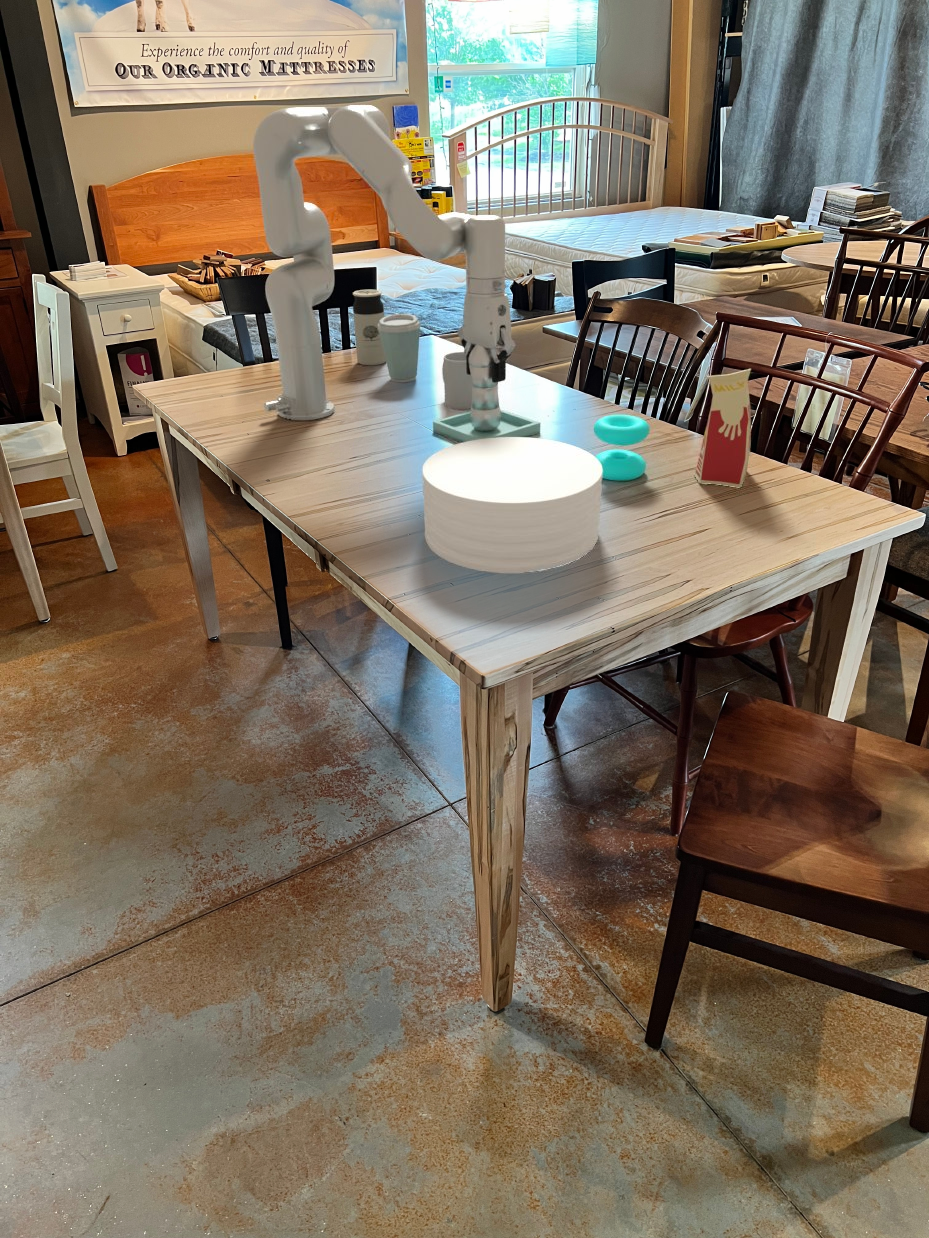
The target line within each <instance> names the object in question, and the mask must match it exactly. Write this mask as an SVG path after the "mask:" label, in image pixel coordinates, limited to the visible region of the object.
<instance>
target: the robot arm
mask: <svg viewBox="0 0 929 1238" xmlns="http://www.w3.org/2000/svg"><path fill="white" fill-rule="evenodd" d="M390 138H391V127H390V124H389V121H388V119H387V117H386V116H385V114H384V113H383V112H382V111H381V109H378V107H375V106H374V105H370V104H367V105H366V104H360V105H359V104H357V105H356V104H355V105H353V104H350V105H345V106H316V107H315V106H309V107H303V106H302V107H300V106H299V107H286V108H281V109H278V110H275V111H273V112H271V113H270V114H268V115H266V117H264V118H263V119H262V121H260V123H259V125H258V126H257V129H256V130H255V133H254V137H253V144H252V145H253V147H252V149H253V151H252V152H253V159H254V165H255V168H256V175H257V179H258V186H259V198H260V204H261V214H262V221H263V229H264V235H265V237H264V238H265V241H266V243H267V246H268V248H269V249H270V251H271V252H272V253H273V254H275V255H276V256H278V257H281V258H282V257H283V258H290V257H293V261H290V262H288V263H285V264H281V265H279V266H277V267H275V268H274V269H273V270H272V271H270V273H269V275H268V277H267V279H266V281H265V286H264V287H265V289H264V290H265V299H266V301H267V304H268V307H269V310H270V314H271V317H272V322H273V329H274V336H275V342H276V347H277V348H276V349H277V356H278V357H277V358H278V364H279V373H280V380H281V388H282V389H281V390H282V393H279V394H278V398H276V400H275V401H274V400H273V401H267V402H265V403H264V404H263V406H264V407H263V408H264V410H265V412H267V413H269V412H272V411H276V412H277V413H278V416H280V417H281V418H282V417H284V418H283V419H285V418H287V419H286V420H289V419H291V421H313V420H319V419H323V418H326V417H328V416H331V415H332V414H333V413H334V412H335V411H336V410H335V404H334V403H333V402H331V401H329V400H328V399H327V390H326V380H325V369H324V360H323V352H322V351H323V350H322V342H321V332H320V327H319V323H318V321H317V318H316V315H315V313H314V310H313V307H314V306H316V305H319V304H321V303H322V302H325V301H327V299H329V298H330V296H332V293H333V291H334V287H335V269H334V267H335V266H334V256H333V244H332V236H331V228H330V224H329V222H328V219H327V217H326V215H325V213H324V212H323V211H322V210H321V209H320V208H319V207H318V206H317V205H315V204H313V203H311V202H305V201H304V200H305V199H304V193H303V192H304V191H303V188H304V187H303V183H302V182H303V181H302V178H301V175H300V172H299V170H298V168H297V166H296V163H295V161H297V160H299V159H302V158H313V157H320V156H322V157H323V156H324V157H325V156H340V157H342V158H343V159H344V160H345V161H346V162H347V163H348V164H349V165H350V166H351V168H353V170H354V171H356V172H357V174H358V175H359V176H361V178H362V179H363V180H364V181H365V183H367V184H368V186H369V187H370V188H371V189H373V191H374V192H375V193H376V194H377V195H378V197H380V200H381V203H382V205H383V208H384V210H385V212H386V215H387V216H388V217H389V220H390V221H391V223H392V225H393V226H394V228H395V229H396V231H397V232H398V233H399V234H400V235H401V236H402V237H403V238H404V239H405V240H406V242H408V243H409V245H410V246H412V247H413V249H415V251H416V252H418V253H419V254H420V255H421V256H423V257H424V258H425V259H428V260H429V261H435V262H439V261H443V260H447V259H448V258H451V257H454V256H457V255H460V254H465V283H466V284H465V288H466V289H465V292H464V293H465V295H464V299H463V300H464V301H463V309H462V310H463V312H462V325H461V327H460V328H459V329H458V330H457V335H458V337H459V339H460V343H461V345H462V348H464V349H463V352H464V353H465V354H466V371H467V374H468V375H471V373H470V367H469V355H470V353H471V351H472V350H473V348H474V347H475V345H479V346H482V347H485V348H489V349H491V352H492V356H493V359H494V362H492V382H494V383H496V382H498V383H501V382H504V381H506V376H507V375H506V374H507V373H506V371H507V370H506V369H507V363H506V362H507V361H508V360H509V357H510V356H511V355H512V352H513V351H514V349H515V348H516V343H515V341H514V339H512V321H511V319H512V317H511V308H510V301H509V296H508V294H507V293H506V289H507V286H506V285H507V284H506V222H505V220H504V218H503V217H501V216H498V215H492V214H480V215H479V214H478V215H471V214H465V213H461V212H455V211H454V212H446V213H443V214H438V215H437V214H436V213H435V212H434V211H433V209H431V208H430V206H429V205H428V204H427V203H426V202H425V201H424V200H423V198H421V196H420V194H419V193H418V192H417V190H416V188H415V186H414V183H413V179H412V174H413V173H412V172H413V164H412V161H411V160H410V159H409V158H408V156H407V155H406V154H405V153H404V152H403V151H402V150H401V149H400V148H399V147H398V146H397V145H396V144H395V143H394V142H393V141H392V140H391V139H390ZM476 342H477V343H476ZM498 350H499V351H498ZM497 351H498V352H497ZM498 353H499V355H498Z"/></svg>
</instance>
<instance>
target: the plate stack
mask: <svg viewBox="0 0 929 1238" xmlns="http://www.w3.org/2000/svg"><path fill="white" fill-rule="evenodd" d="M421 470H422V471H421V477H422V481H423V483H422V493H423V512H424V514H423V517H424V520H423V522H424V538H425V541H426V544H427V546H428V547H429V549H430V550H431V551H432V552H433V553H435V555H437V556H439V557H440V558H441V559H443V560H445V561H447V562H449V563H451V564H454V565H456V566H460V567H462V568H467V569H470V570H475V571H479V572H485V571H486V572H487V573H495V574H496V573H497V574H525V573H524V572H530V571H538V570H541V569H548V568H553V567H557V566H560V565H564V564H566V563H569V562H571V561H574V560H576V559H578V558H580V557H582V556H584V555H585V554H586V553H588V552H589V551H590V550H591V549H592V548H593V547H594V546H595V544H596V542H597V543H598V541H597V540H599V532H600V530H599V529H600V528H599V527H600V520H601V519H600V517H601V516H600V515H601V514H600V512H601V506H602V505H601V502H602V501H601V496H602V490H603V489H602V488H603V487H602V486H603V485H602V482H603V478H602V476H603V468H602V465H601V463H600V462H599V460H598V459H597V458H596V455H593V454H592V453H590V452H589V451H588V450H585V449H582V448H581V447H578V446H575V445H572V444H569V443H565V442H562V441H558V440H557V441H556V440H551V439H544V438H537V437H497V438H486V439H478V440H472V441H467V442H463V443H461V442H458V443H456V444H453V445H449V446H447V447H445V448H444V447H443V449H440V450H437V451H436V452H435V453H433V454H432V455H430V456H429V457H428V458H427V459H426V460H425V462H424V463H423V465H422V469H421ZM596 545H597V544H596ZM595 547H596V546H595ZM595 547H594V548H595ZM584 557H585V556H584ZM486 572H485V573H486Z"/></svg>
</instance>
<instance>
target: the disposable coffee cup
mask: <svg viewBox="0 0 929 1238" xmlns="http://www.w3.org/2000/svg"><path fill="white" fill-rule="evenodd" d="M421 327H422V326H421V322H420V321H419V319H418V317H417V315H413V314H410V313H397V314H389V315H386V316H384V317H383V318H382V319H381V320H380V321H379V324H378V328H377V329H378V330H379V333H380V337H381V341H382V346H383V350H384V354H385V358H386V362H385V363H386V366H387V369H388V375H389V378H390V379H391V382H395V383H410V382H412V381H415V380H416V379H417V376H418V364H419V363H418V362H419V350H420V349H419V347H420V333H421V332H420V331H421Z"/></svg>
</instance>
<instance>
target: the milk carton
mask: <svg viewBox="0 0 929 1238" xmlns="http://www.w3.org/2000/svg"><path fill="white" fill-rule="evenodd" d="M751 371H752V368H748V369H744V370H740V371H737V372H732V373H728V374H715V375H707V376H706V378H707V379H708V380H709V383H710V388H711V393H712V399H711V403H710V404H711V406H710V410H709V414H708V419H707V423H706V427H705V431H704V436H703V437H702V444H701V447H700V451H699V455H698V460H697V463H696V468H695V472H694V475H695V476H694V477H696V479H695V480H696V481H697V480H698V481H697V482H698V484H699V483H711V484H721V485H728V486H735V487H742V488H743V485H744V483H745V479H746V476H747V473H748V466H749V465H748V464H749V458H750V453H751V446H752V445H751V441H752V440H751V439H752V438H751V435H752V433H751V432H752V427H751V426H752V419H751V418H752V411H751V402H750V391H749V384H748V380H749V377H750V373H751ZM746 472H747V473H746ZM743 482H744V483H743ZM742 484H743V485H742Z"/></svg>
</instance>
